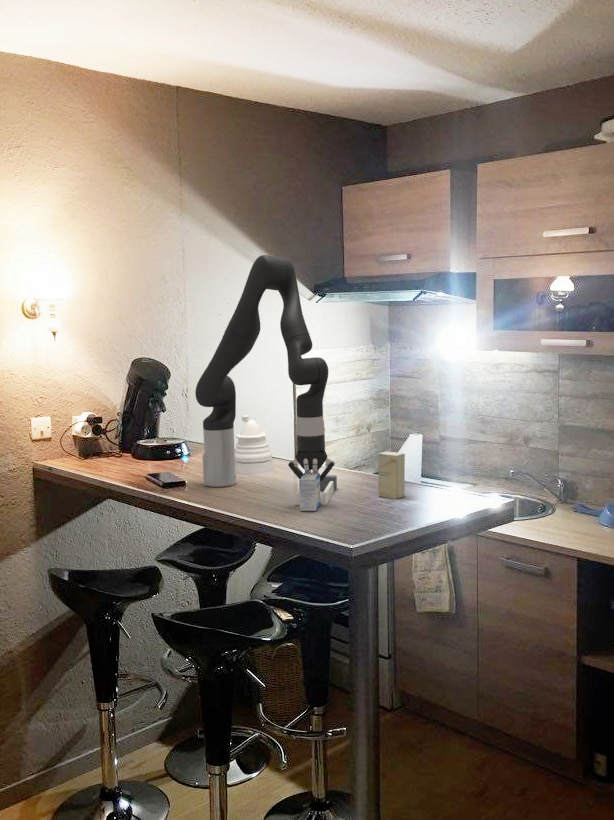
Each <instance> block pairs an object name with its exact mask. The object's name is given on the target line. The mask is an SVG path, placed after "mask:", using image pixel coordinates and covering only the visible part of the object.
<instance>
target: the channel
mask: <svg viewBox="0 0 614 820" xmlns="http://www.w3.org/2000/svg"><path fill="white" fill-rule="evenodd" d="M337 490H338V476H337V475H336V474H335V475H334V474H332V475H330V474H329V475H328V474H327V475H326V477H325V478H324V479H323V480H322V481H320V492H322V493H321V500H322V506H327V504H328V502H329V501H330V499H331V498H332V495H333V494H334V492H336V491H337ZM296 506H300V497H299V490H298V491H297V493H296Z"/></svg>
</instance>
